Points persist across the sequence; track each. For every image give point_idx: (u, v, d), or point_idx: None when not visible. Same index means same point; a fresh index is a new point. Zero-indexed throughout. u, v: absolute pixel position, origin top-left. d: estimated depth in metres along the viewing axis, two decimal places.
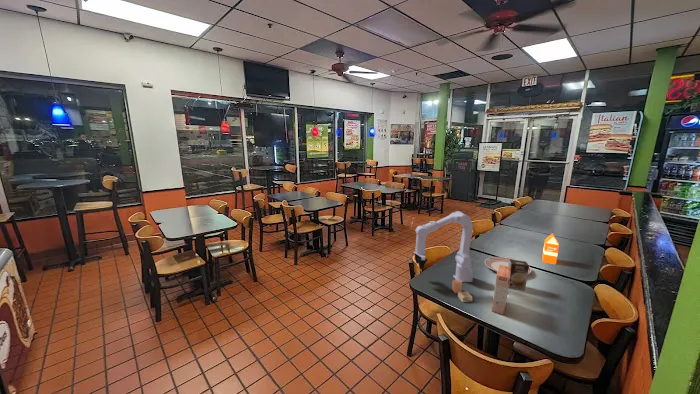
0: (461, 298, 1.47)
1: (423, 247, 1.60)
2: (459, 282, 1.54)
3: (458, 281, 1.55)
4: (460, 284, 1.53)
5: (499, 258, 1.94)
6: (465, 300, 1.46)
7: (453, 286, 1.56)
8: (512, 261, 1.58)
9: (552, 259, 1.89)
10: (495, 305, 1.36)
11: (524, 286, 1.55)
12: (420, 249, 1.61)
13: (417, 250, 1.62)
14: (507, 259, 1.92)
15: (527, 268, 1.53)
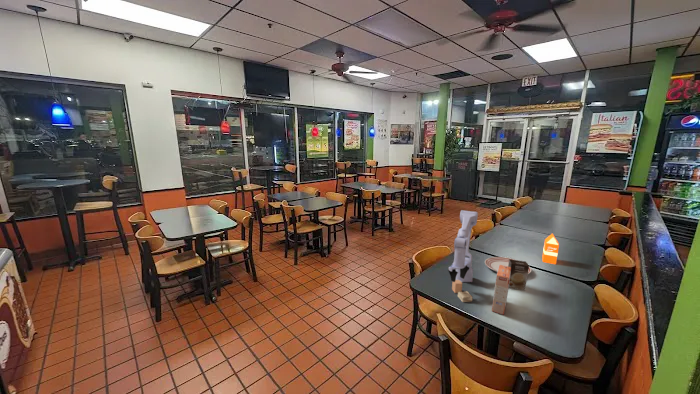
0: (461, 298, 1.47)
1: (457, 259, 1.50)
2: (459, 282, 1.54)
3: (458, 281, 1.55)
4: (460, 284, 1.53)
5: (499, 258, 1.94)
6: (465, 300, 1.46)
7: (453, 286, 1.56)
8: (512, 261, 1.58)
9: (552, 259, 1.89)
10: (495, 305, 1.36)
11: (524, 286, 1.55)
12: (454, 260, 1.52)
13: (454, 260, 1.54)
14: (507, 259, 1.92)
15: (527, 268, 1.53)
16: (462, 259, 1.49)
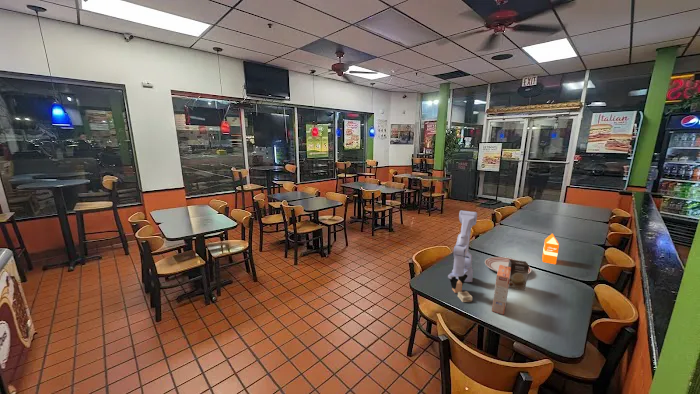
0: (461, 298, 1.47)
1: (457, 267, 1.51)
2: (459, 282, 1.54)
3: (458, 281, 1.55)
4: (460, 284, 1.53)
5: (499, 258, 1.94)
6: (465, 300, 1.46)
7: None
8: (512, 261, 1.58)
9: (552, 259, 1.89)
10: (495, 305, 1.36)
11: (524, 286, 1.55)
12: (454, 268, 1.53)
13: (453, 268, 1.55)
14: (507, 259, 1.92)
15: (527, 268, 1.53)
16: (461, 267, 1.50)
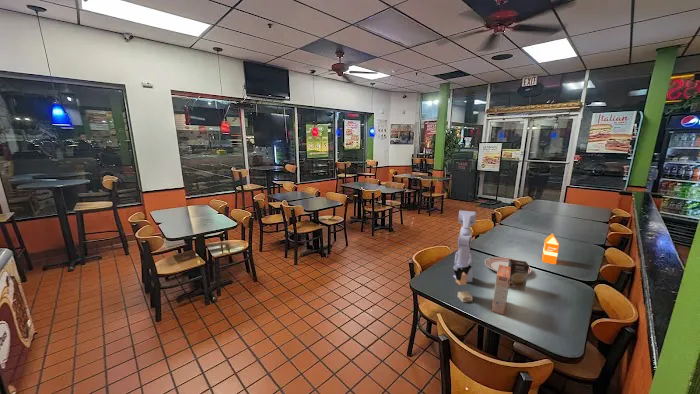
0: (461, 298, 1.47)
1: (462, 258, 1.46)
2: (463, 274, 1.50)
3: (462, 273, 1.51)
4: (465, 275, 1.49)
5: (499, 258, 1.94)
6: (465, 300, 1.46)
7: None
8: (512, 261, 1.58)
9: (552, 259, 1.89)
10: (495, 305, 1.36)
11: (524, 286, 1.55)
12: (459, 259, 1.47)
13: (457, 259, 1.50)
14: (507, 259, 1.92)
15: (527, 268, 1.53)
16: (466, 257, 1.45)
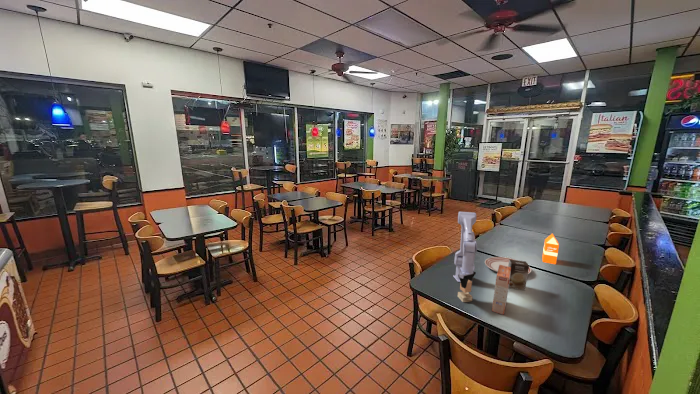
0: (461, 298, 1.46)
1: (467, 265, 1.42)
2: (468, 281, 1.46)
3: None
4: (470, 283, 1.45)
5: (499, 258, 1.94)
6: (465, 300, 1.46)
7: None
8: (512, 261, 1.58)
9: (552, 259, 1.89)
10: (495, 305, 1.36)
11: (524, 286, 1.55)
12: (464, 266, 1.43)
13: (462, 266, 1.45)
14: (507, 259, 1.92)
15: (527, 268, 1.53)
16: (472, 264, 1.41)
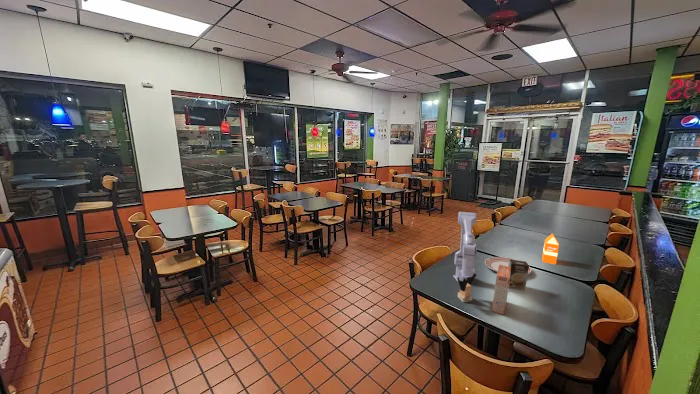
0: (461, 298, 1.46)
1: (467, 268, 1.42)
2: (468, 285, 1.46)
3: None
4: (469, 287, 1.46)
5: (499, 258, 1.94)
6: (466, 300, 1.46)
7: None
8: (512, 261, 1.58)
9: (552, 259, 1.89)
10: (495, 305, 1.36)
11: (524, 286, 1.55)
12: (464, 269, 1.43)
13: (462, 269, 1.46)
14: (507, 259, 1.92)
15: (527, 268, 1.53)
16: (472, 267, 1.42)
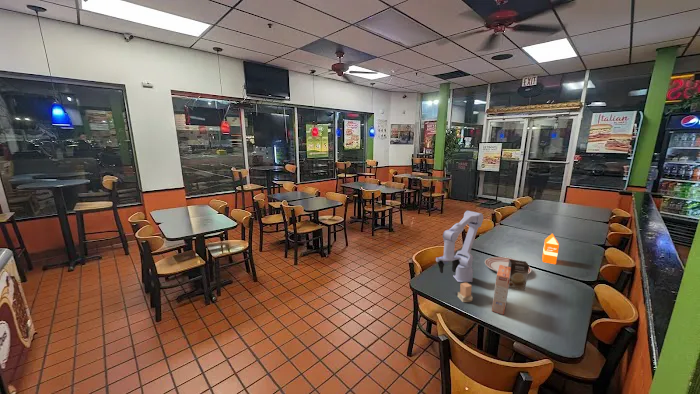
0: (461, 298, 1.46)
1: (445, 251, 1.53)
2: (468, 285, 1.46)
3: (466, 284, 1.47)
4: (470, 287, 1.45)
5: (499, 258, 1.94)
6: (465, 300, 1.46)
7: (462, 290, 1.47)
8: (512, 261, 1.58)
9: (552, 259, 1.89)
10: (495, 305, 1.36)
11: (524, 286, 1.55)
12: None
13: None
14: (507, 259, 1.92)
15: (527, 268, 1.53)
16: (449, 252, 1.52)
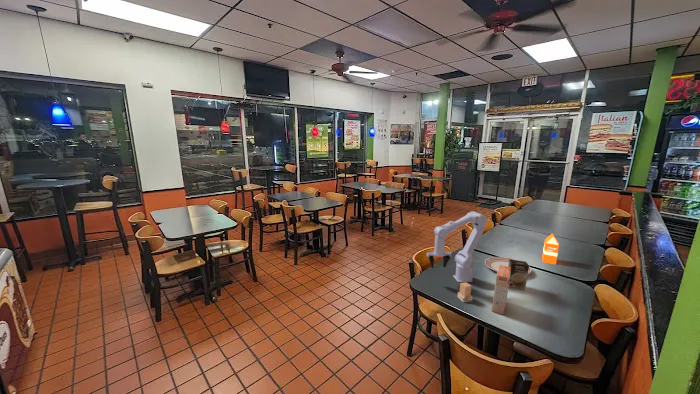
0: (461, 298, 1.46)
1: (435, 247, 1.60)
2: (468, 285, 1.46)
3: (466, 284, 1.47)
4: (469, 287, 1.45)
5: (499, 258, 1.94)
6: (465, 300, 1.46)
7: (461, 290, 1.47)
8: (512, 261, 1.58)
9: (552, 259, 1.89)
10: (495, 305, 1.36)
11: (524, 286, 1.55)
12: (434, 248, 1.62)
13: None
14: (507, 259, 1.92)
15: (527, 268, 1.53)
16: (438, 247, 1.58)
